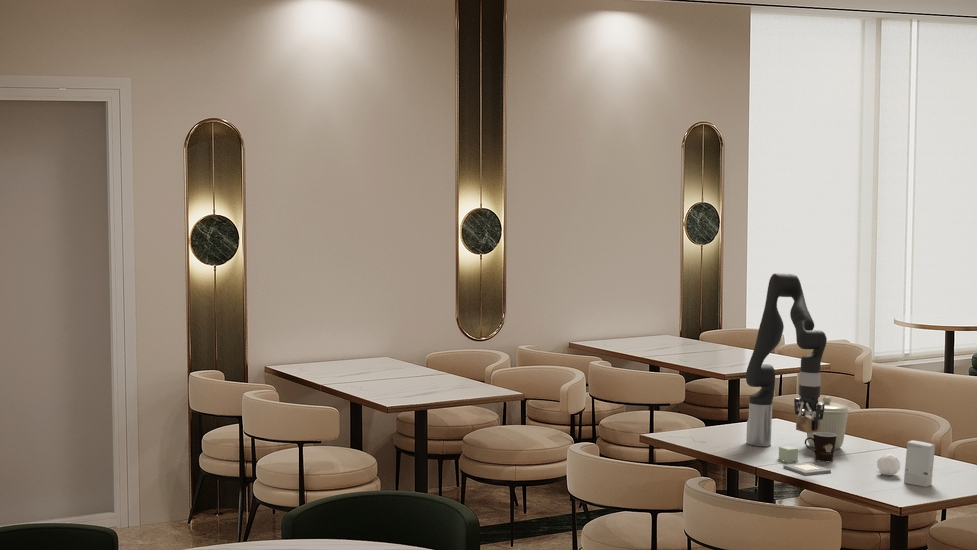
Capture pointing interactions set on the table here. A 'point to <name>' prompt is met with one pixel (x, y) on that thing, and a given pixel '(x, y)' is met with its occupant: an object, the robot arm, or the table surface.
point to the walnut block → (805, 424)
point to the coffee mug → (823, 445)
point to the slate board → (807, 468)
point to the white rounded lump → (888, 464)
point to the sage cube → (788, 453)
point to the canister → (832, 421)
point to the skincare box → (919, 463)
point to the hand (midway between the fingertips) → (808, 428)
